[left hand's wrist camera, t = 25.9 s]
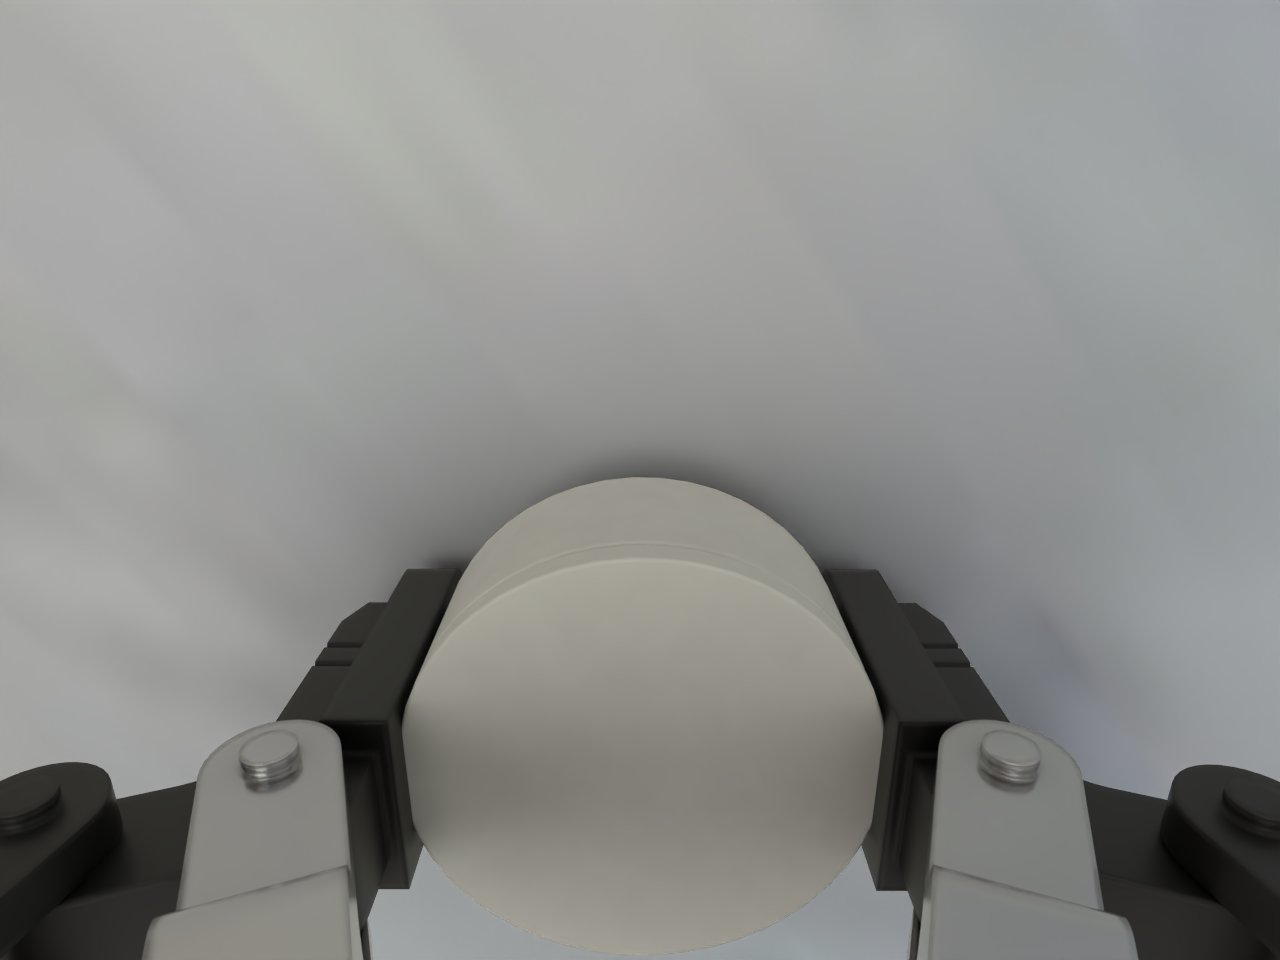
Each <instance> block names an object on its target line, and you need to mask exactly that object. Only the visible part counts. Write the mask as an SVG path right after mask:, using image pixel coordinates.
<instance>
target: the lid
mask: <svg viewBox="0 0 1280 960" xmlns="http://www.w3.org/2000/svg"><path fill="white" fill-rule="evenodd" d="M883 728H884V725H883V716H882V713H881V710H880V707H879V704H878V701H877V698H876V695H875V692H874V689H873V687H872V685H871V682H870V680H869V678H868V676H867V674H866V672H865V670H864V667H863V664H862V662H861V660H860V658H859V656H858V653H857V651H856V649H855V647H854V644H853V642H852V640H851V638H850V635H849V633H848V631H847V629H846V626H845V624H844V622H843V620H842V617H841V615H840V613H839V611H838V609H837V606H836V604H835V602H834V600H833V597H832V595H831V593H830V591H829V588H828V586H827V584H826V583H825V581H824V579H823V577H822V575H821V573H820V571H819V569H818V567H817V566H816V565H815V563H814V562H813V560H812V559H811V558H810V556H809V555H808V554H807V552H806V551H805V550H804V548H803V547H802V546H801V545H800V544H799V543H798V542H797V541H796V540H795V539H794V538H793V537H792V536H791V535H790V534H789V533H788V532H787V531H786V530H785V529H784V528H783V527H782V526H780V525H779V524H778V523H777V522H775V521H774V520H773V519H771V518H770V517H769V516H767V515H766V514H765V513H763V512H762V511H760V510H758V509H756V508H755V507H753V506H751V505H749V504H748V503H746V502H744V501H743V500H741V499H738V498H736V497H733V496H731V495H729V494H726V493H724V492H721V491H719V490H717V489H713V488H710V487H706V486H702V485H699V484H695V483H691V482H687V481H680V480H673V479H666V478H645V477H630V478H621V479H611V480H603V481H599V482H594V483H590V484H586V485H581V486H577V487H574V488H572V489H569V490H566V491H563V492H561V493H558V494H555V495H553V496H550V497H548V498H546V499H545V500H543V501H541V502H539V503H537V504H535V505H533V506H531V507H529V508H527V509H526V510H524V511H523V512H522V513H520V514H519V515H517V516H516V517H514V518H513V519H512V520H510V521H509V522H507V523H506V524H505V525H504V526H503V527H502V528H501V529H499V530H498V531H497V532H496V533H495V534H494V535H493V536H492V537H491V538H490V539H489V540H488V541H487V542H486V543H485V544H484V545H483V547H482V548H481V549H480V550H479V552H478V553H477V554H476V555H475V557H474V558H473V559H472V560H471V562H470V564H469V565H468V567H467V569H466V570H465V572H464V574H463V575H462V577H461V579H460V581H459V583H458V585H457V587H456V589H455V592H454V594H453V596H452V599H451V601H450V603H449V606H448V608H447V610H446V612H445V615H444V617H443V619H442V622H441V624H440V626H439V629H438V631H437V633H436V635H435V638H434V640H433V642H432V645H431V647H430V649H429V652H428V654H427V656H426V658H425V661H424V663H423V666H422V668H421V670H420V672H419V675H418V677H417V679H416V681H415V684H414V686H413V689H412V691H411V694H410V696H409V699H408V701H407V704H406V706H405V711H404V715H403V719H402V737H403V745H404V753H405V761H406V769H407V777H408V785H409V793H410V801H411V809H412V818H413V823H414V827H415V829H416V832H417V834H418V836H419V838H420V839H421V841H422V842H423V844H424V846H425V847H426V849H427V850H428V852H429V854H430V855H431V857H432V858H433V859H434V861H435V862H436V863H437V864H438V865H439V867H440V868H441V869H442V870H443V872H444V873H445V874H446V875H447V876H448V878H449V879H451V880H452V881H453V882H454V883H455V884H456V885H457V886H458V887H459V888H460V889H461V890H462V891H463V892H464V893H466V894H467V895H468V896H469V897H470V898H472V899H473V900H474V901H476V902H477V903H479V904H480V905H481V906H483V907H484V908H485V909H487V910H488V911H489V912H491V913H493V914H494V915H496V916H498V917H500V918H502V919H503V920H505V921H507V922H509V923H510V924H512V925H514V926H516V927H518V928H521V929H523V930H525V931H527V932H530V933H532V934H534V935H537V936H539V937H542V938H545V939H548V940H551V941H554V942H558V943H561V944H564V945H567V946H572V947H576V948H581V949H586V950H591V951H596V952H605V953H614V954H623V955H658V954H670V953H682V952H687V951H693V950H698V949H704V948H709V947H713V946H716V945H720V944H724V943H727V942H731V941H734V940H737V939H740V938H742V937H745V936H747V935H750V934H752V933H755V932H757V931H760V930H763V929H764V928H766V927H768V926H770V925H772V924H774V923H776V922H778V921H780V920H782V919H783V918H785V917H787V916H789V915H790V914H792V913H793V912H795V911H796V910H798V909H799V908H801V907H802V906H804V905H805V904H807V903H808V902H809V901H811V900H812V899H813V898H814V897H815V896H817V895H818V894H819V893H820V892H821V891H822V890H823V889H825V888H826V887H827V886H828V885H829V884H830V883H831V882H832V881H833V880H834V879H835V878H836V877H837V876H838V875H839V873H840V872H841V871H842V870H843V869H844V868H845V867H846V866H847V865H848V863H849V862H850V860H851V859H852V858H853V856H854V855H855V853H856V852H857V850H858V849H859V847H860V846H861V844H862V843H863V841H864V839H865V837H866V835H867V833H868V831H869V829H870V827H871V824H872V818H873V810H874V802H875V794H876V786H877V778H878V770H879V763H880V755H881V747H882V739H883Z"/></svg>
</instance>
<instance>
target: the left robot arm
mask: <svg viewBox="0 0 1280 960" xmlns="http://www.w3.org/2000/svg"><path fill="white" fill-rule="evenodd" d="M462 575H463V574H462V572H461V570H460V569H408V570H406V572H405V573H404V575H403V576H402V578H401V580H400V582H399V583H398V585H397V587H396V588H395V590H394V592H393V594H392V595H391V597H390V599H389V601H388V602H387V603H367V604H366V605H365V606H363V607H362V608H360V609H359V610H357V611H356V612H355V613H353V614H352V615H350V616H349V617H347V618H346V619H344V620H343V621H342V622H341V623H340V625H339V626H338V628H337V629H336V631H335V632H334V634H333V635H332V637H331V639H330V640H329V642H328V643H327V648H324V649H323V651H322V652H321V654H320V655H319V657H318V658H317V660H316V661H315V666H312V667H311V669H310V670H309V672H308V673H307V675H306V677H305V678H304V680H303V681H302V683H301V684H300V686H299V687H298V689H297V690H296V692H295V693H294V695H293V696H292V698H291V699H290V701H289V702H288V704H287V705H286V707H285V708H284V710H283V712H282V713H281V715H280V716H279V718H278V719H277V721H276V722H272V723H268V724H264V725H260V726H258V727H255V728H252V729H249V730H247V731H245V732H243V733H240V734H238V735H236V736H235V737H233V738H231V739H229V740H228V741H226V742H225V743H224V744H222V745H221V746H219V747H218V748H217V749H216V750H215V751H214V752H213V753H212V754H210V756H209V757H208V758H207V759H206V760H205V762H204V763H203V765H202V767H201V769H200V771H199V774H198V778H197V781H195V782H192V783H188V784H185V785H181V786H176V787H172V788H167V789H162V790H158V791H153V792H148V793H144V794H139V795H134V796H130V797H125V798H120V799H116V797H115V793H114V790H113V786H112V783H111V779H110V777H109V775H108V774H107V773H106V772H105V771H104V770H103V769H102V768H100V767H98V766H96V765H92V764H88V763H80V762H67V763H58V764H51V765H46V766H42V767H37V768H34V769H31V770H27V771H24V772H21V773H19V774H16V775H13V776H11V777H8V778H6V779H4V780H2V781H0V960H373V955H372V945H371V935H370V929H369V922H368V916H369V914H370V911H371V908H372V905H373V903H374V900H375V897H376V894H377V891H378V889H409V888H410V885H411V882H412V879H413V876H414V873H415V869H416V866H417V863H418V860H419V857H420V854H421V851H422V847H423V842H422V841H421V839H420V838H419V836H418V834H417V832H416V829H415V827H414V823H413V818H412V809H411V801H410V793H409V785H408V777H407V769H406V761H405V753H404V745H403V737H402V719H403V715H404V711H405V706H406V704H407V701H408V699H409V696H410V694H411V691H412V689H413V686H414V684H415V681H416V679H417V677H418V675H419V672H420V670H421V668H422V666H423V663H424V661H425V658H426V656H427V654H428V652H429V649H430V647H431V645H432V642H433V640H434V638H435V635H436V633H437V631H438V629H439V626H440V624H441V622H442V619H443V617H444V615H445V612H446V610H447V608H448V606H449V603H450V601H451V599H452V596H453V594H454V592H455V589H456V587H457V585H458V583H459V581H460V579H461V577H462ZM822 577H823V579H824V581H825V583H826V584H827V586H828V588H829V591H830V593H831V595H832V597H833V600H834V602H835V604H836V606H837V609H838V611H839V613H840V615H841V617H842V620H843V622H844V624H845V626H846V629H847V631H848V633H849V635H850V638H851V640H852V642H853V644H854V647H855V649H856V651H857V653H858V656H859V658H860V660H861V662H862V664H863V667H864V670H865V672H866V674H867V676H868V678H869V680H870V682H871V685H872V687H873V689H874V692H875V695H876V698H877V701H878V704H879V707H880V710H881V713H882V716H883V725H884V728H883V739H882V747H881V755H880V763H879V770H878V778H877V786H876V794H875V802H874V810H873V818H872V824H871V827H870V829H869V831H868V833H867V835H866V837H865V839H864V841H863V843H862V844H861V845H862V848H863V851H864V854H865V857H866V860H867V863H868V866H869V869H870V872H871V875H872V879H873V882H874V885H875V888H876V891H908V893H909V896H910V898H911V901H912V904H913V906H914V909H913V916H912V922H911V929H910V935H909V945H908V955H907V960H1280V782H1278V781H1276V780H1274V779H1271V778H1269V777H1266V776H1263V775H1261V774H1258V773H1254V772H1251V771H1248V770H1244V769H1240V768H1235V767H1230V766H1222V765H1198V766H1193V767H1189V768H1186V769H1184V770H1182V771H1180V772H1179V773H1178V774H1177V775H1176V776H1175V778H1174V780H1173V782H1172V785H1171V789H1170V792H1169V796H1168V800H1164V799H1159V798H1155V797H1150V796H1145V795H1141V794H1136V793H1131V792H1127V791H1122V790H1117V789H1113V788H1108V787H1104V786H1100V785H1096V784H1093V783H1090V782H1087V781H1084V780H1083V778H1082V774H1081V771H1080V769H1079V767H1078V765H1077V763H1076V762H1075V760H1074V759H1073V758H1072V757H1071V756H1070V754H1068V753H1067V752H1066V751H1065V750H1064V749H1063V748H1062V747H1061V746H1059V745H1058V744H1056V743H1055V742H1054V741H1052V740H1051V739H1049V738H1047V737H1045V736H1044V735H1042V734H1040V733H1037V732H1035V731H1033V730H1031V729H1028V728H1025V727H1022V726H1020V725H1016V724H1012V723H1010V722H1009V720H1008V719H1007V717H1006V716H1005V714H1004V713H1003V711H1002V710H1001V708H1000V707H999V705H998V704H997V702H996V701H995V699H994V698H993V696H992V695H991V693H990V692H989V690H988V689H987V687H986V686H985V684H984V683H983V681H982V680H981V678H980V677H979V675H978V674H977V672H976V671H975V669H974V668H973V667H970V662H969V660H968V659H967V657H966V656H965V654H964V653H963V651H962V650H961V649H958V644H957V642H956V641H955V639H954V638H953V636H952V635H951V633H950V632H949V630H948V629H947V627H946V626H945V624H944V623H943V622H942V621H941V620H939V619H938V618H936V617H935V616H933V615H932V614H930V613H929V612H928V611H926V610H925V609H923V608H922V607H920V606H919V605H917V604H916V603H897V602H896V600H895V598H894V596H893V595H892V593H891V591H890V590H889V588H888V586H887V585H886V583H885V581H884V580H883V578H882V576H881V574H880V573H879V572H878V571H877V570H824V571H823V573H822Z"/></svg>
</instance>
